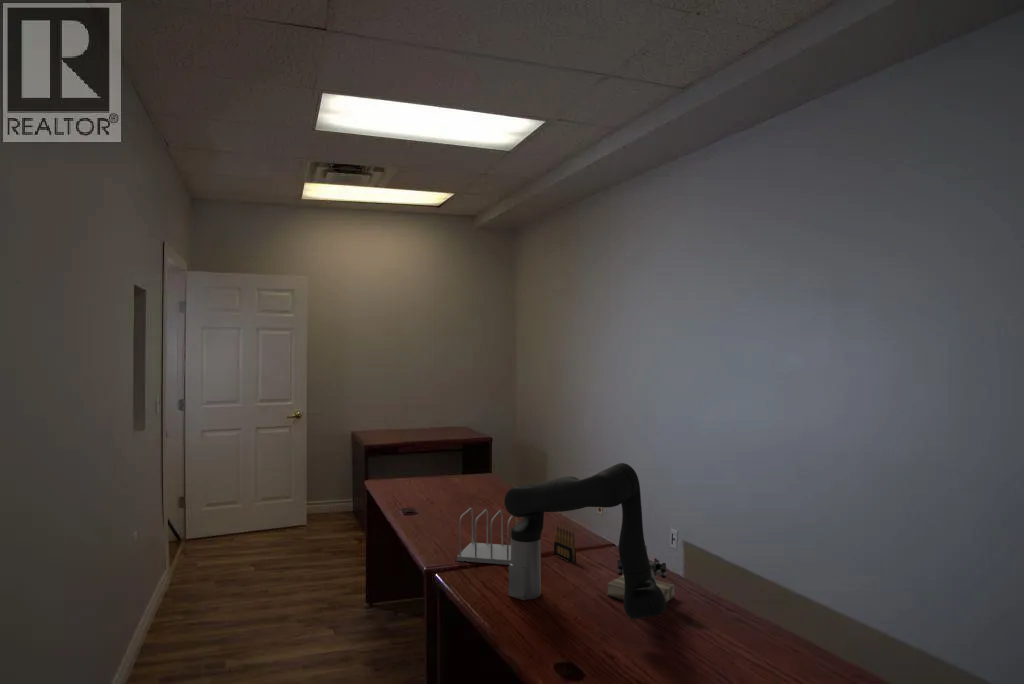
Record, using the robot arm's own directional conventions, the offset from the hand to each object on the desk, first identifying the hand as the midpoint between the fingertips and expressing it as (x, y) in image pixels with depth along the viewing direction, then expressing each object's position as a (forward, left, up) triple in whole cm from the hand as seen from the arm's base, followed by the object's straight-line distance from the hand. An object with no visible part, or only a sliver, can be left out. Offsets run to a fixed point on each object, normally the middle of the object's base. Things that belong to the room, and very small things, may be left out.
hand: (641, 560), depth 199 cm
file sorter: (-2, +57, -11) cm, 58 cm away
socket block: (-2, -1, -10) cm, 11 cm away
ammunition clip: (+12, +37, -11) cm, 41 cm away
